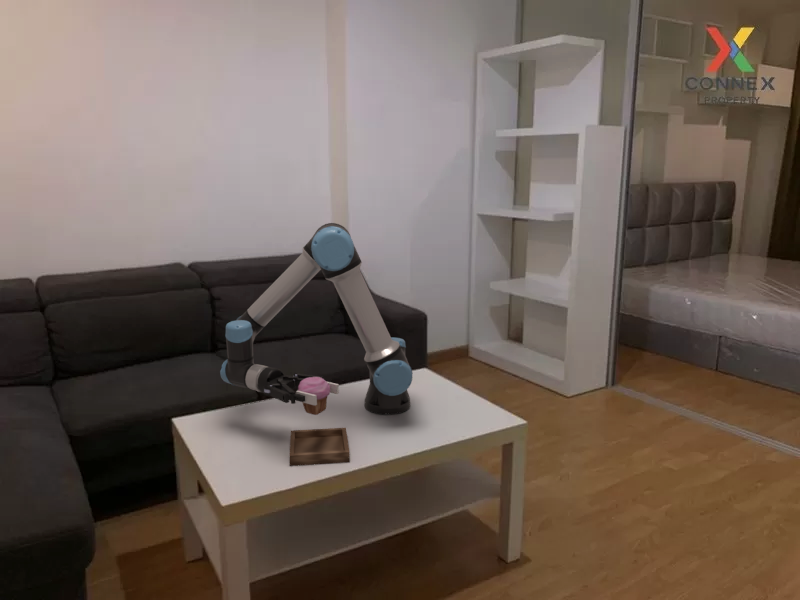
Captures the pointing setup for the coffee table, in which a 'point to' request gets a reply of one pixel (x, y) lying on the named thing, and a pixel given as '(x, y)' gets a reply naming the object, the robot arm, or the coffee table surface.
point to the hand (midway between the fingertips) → (327, 394)
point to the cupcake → (315, 393)
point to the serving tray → (319, 446)
